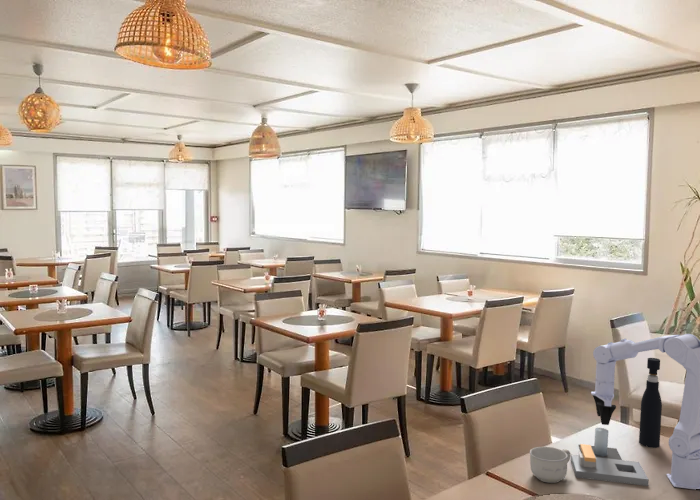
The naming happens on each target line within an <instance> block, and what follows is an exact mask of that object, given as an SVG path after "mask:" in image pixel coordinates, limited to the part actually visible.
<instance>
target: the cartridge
mask: <svg viewBox="0 0 700 500" xmlns="http://www.w3.org/2000/svg"><path fill="white" fill-rule="evenodd" d="M608 445H609V430H608V429H607V428H605V427H595V430H594V445H593V446H594V454H596V455H598V456H607V448H609V447H608Z"/></svg>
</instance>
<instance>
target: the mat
mask: <svg viewBox="0 0 700 500" xmlns="http://www.w3.org/2000/svg"><path fill="white" fill-rule="evenodd" d="M580 444H581V443H580ZM580 444H578V447H579V452H580V453H582V451H581V448H580ZM591 448H592V450H593V453H594V445H591ZM595 456H596V457H600V458H609V459H618V460H623V458H622V457H621V454H620V453H619V450H618V449H617V448H616V447H608V448H607V456H598V455H596V454H595Z"/></svg>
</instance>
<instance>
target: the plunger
mask: <svg viewBox="0 0 700 500" xmlns="http://www.w3.org/2000/svg"><path fill="white" fill-rule="evenodd" d="M591 446H592V445H591V444H584V443H580V448H581V451H582V454H583V457H584V460H585V461H589V462H596V458H595V455H594V453H593V450H592V448H591ZM580 448H579V449H580ZM581 451H580V452H581Z"/></svg>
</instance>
